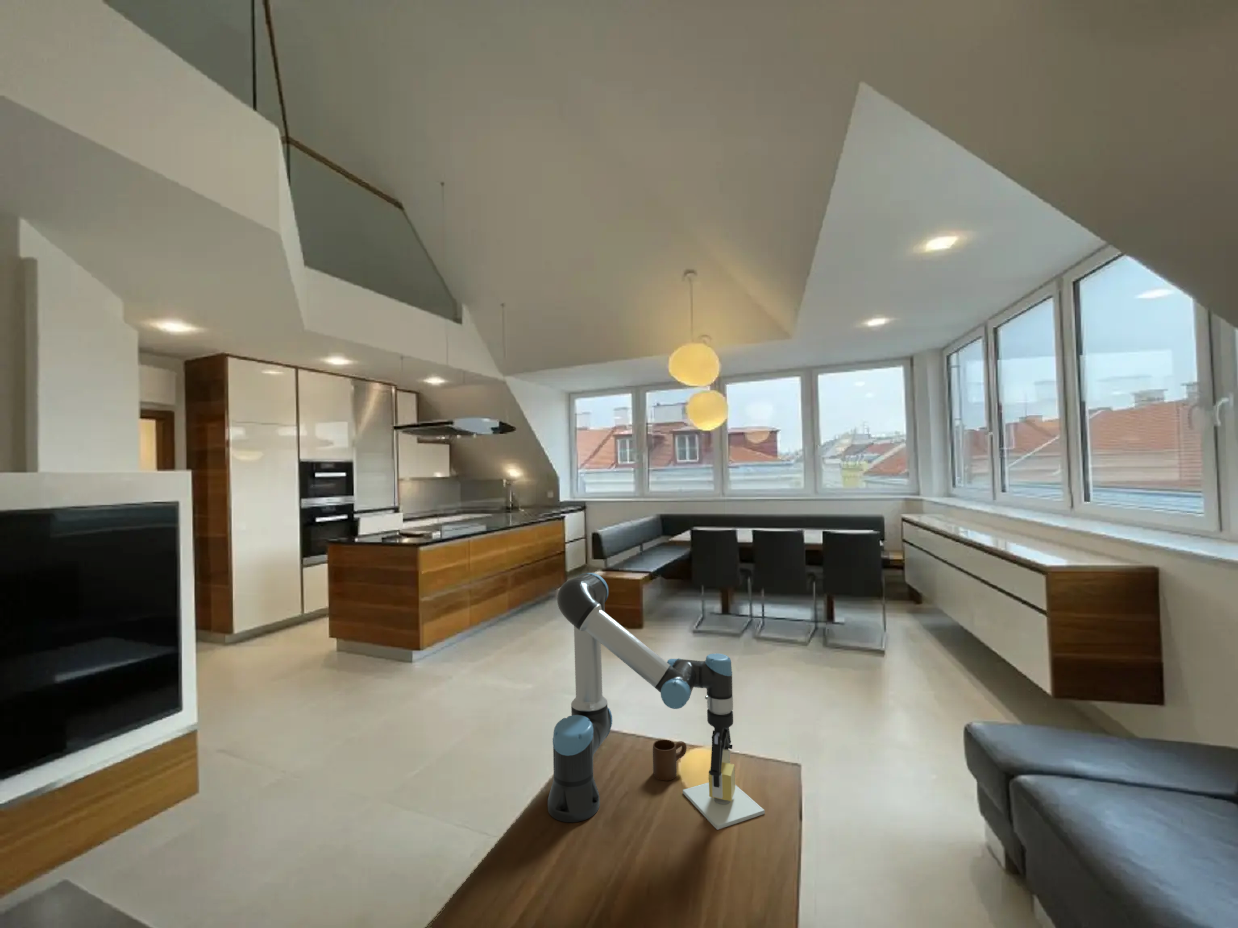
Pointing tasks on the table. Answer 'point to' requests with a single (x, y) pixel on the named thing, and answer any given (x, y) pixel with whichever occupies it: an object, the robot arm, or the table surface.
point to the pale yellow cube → (725, 781)
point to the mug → (666, 758)
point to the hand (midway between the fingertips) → (721, 783)
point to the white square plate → (723, 806)
